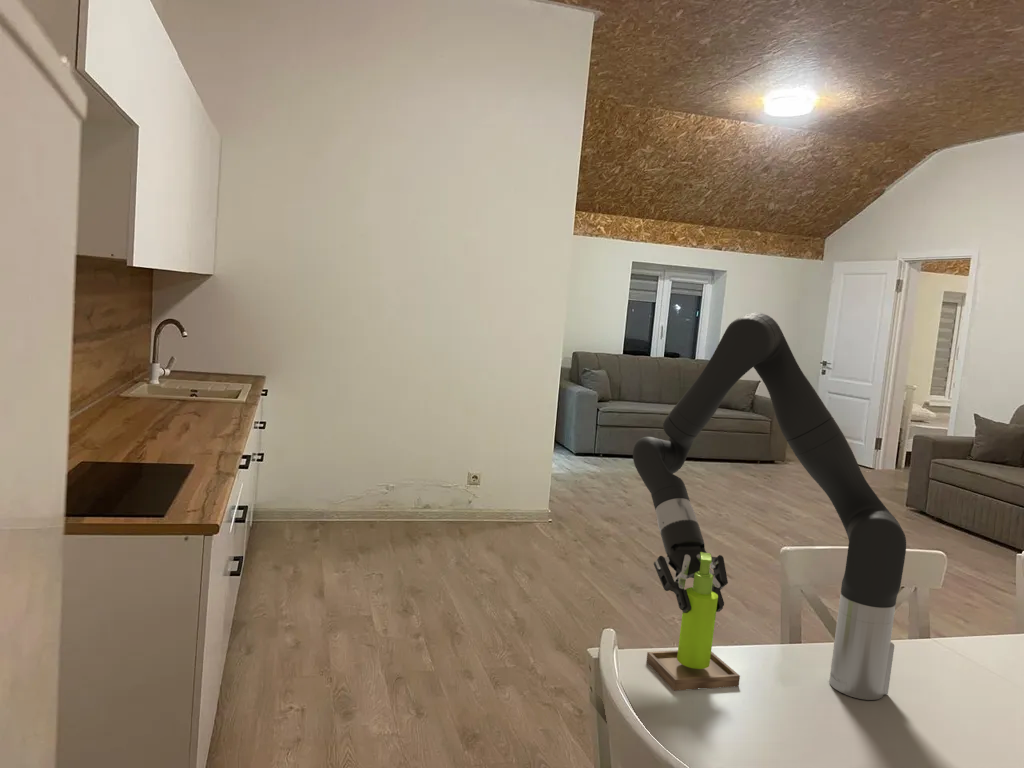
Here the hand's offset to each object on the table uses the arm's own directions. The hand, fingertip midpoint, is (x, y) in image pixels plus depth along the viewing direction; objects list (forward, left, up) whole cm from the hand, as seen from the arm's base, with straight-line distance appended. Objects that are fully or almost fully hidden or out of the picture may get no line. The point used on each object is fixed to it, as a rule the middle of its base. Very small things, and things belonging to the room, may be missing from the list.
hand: (703, 610), depth 142 cm
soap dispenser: (0, -2, -10) cm, 11 cm away
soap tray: (0, -2, -13) cm, 13 cm away
